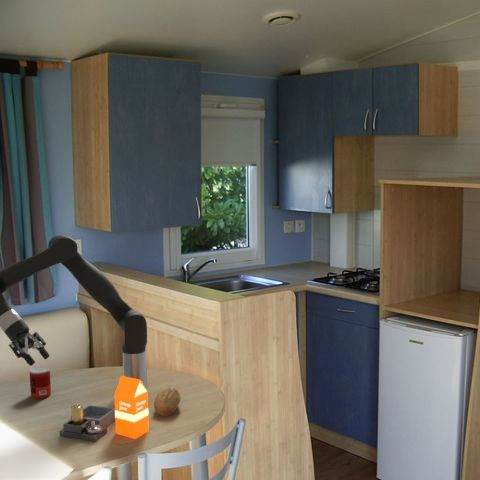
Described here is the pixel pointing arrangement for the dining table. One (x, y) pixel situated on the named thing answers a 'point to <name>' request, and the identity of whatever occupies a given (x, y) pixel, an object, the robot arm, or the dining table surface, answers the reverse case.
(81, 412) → the cylinder
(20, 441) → the dining table surface
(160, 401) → the bread roll
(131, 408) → the orange juice
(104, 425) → the tray
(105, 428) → the crank housing
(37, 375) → the canned food
